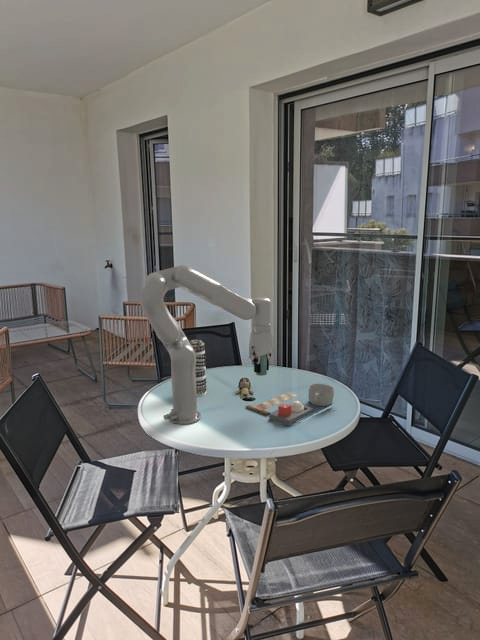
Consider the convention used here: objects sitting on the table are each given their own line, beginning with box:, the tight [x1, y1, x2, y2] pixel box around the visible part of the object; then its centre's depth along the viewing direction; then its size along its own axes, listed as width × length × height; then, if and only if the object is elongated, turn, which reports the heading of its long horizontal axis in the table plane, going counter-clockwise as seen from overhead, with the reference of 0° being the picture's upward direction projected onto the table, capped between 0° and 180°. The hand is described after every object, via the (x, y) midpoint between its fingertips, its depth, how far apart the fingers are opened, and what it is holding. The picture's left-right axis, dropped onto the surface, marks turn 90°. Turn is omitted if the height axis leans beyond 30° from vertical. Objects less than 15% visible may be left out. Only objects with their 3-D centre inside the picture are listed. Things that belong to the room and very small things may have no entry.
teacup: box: [308, 383, 335, 407], centre depth 203 cm, size 14×11×8 cm
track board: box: [245, 391, 298, 416], centre depth 207 cm, size 25×12×1 cm, turn 136°
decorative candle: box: [188, 339, 208, 397], centre depth 219 cm, size 9×9×25 cm
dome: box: [289, 400, 304, 413], centre depth 195 cm, size 6×6×5 cm
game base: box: [268, 403, 315, 427], centre depth 193 cm, size 16×10×6 cm, turn 136°
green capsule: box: [255, 355, 268, 376], centre depth 197 cm, size 4×4×9 cm
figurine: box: [235, 377, 254, 400], centre depth 218 cm, size 8×6×15 cm
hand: (261, 370), depth 198 cm, fingers closed on green capsule, 4 cm apart
